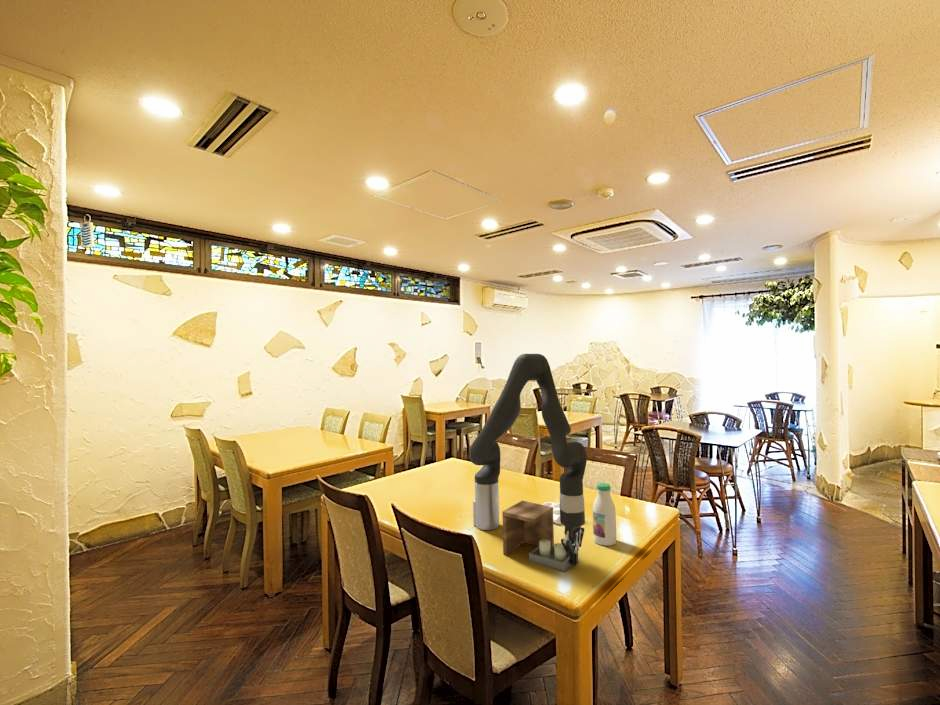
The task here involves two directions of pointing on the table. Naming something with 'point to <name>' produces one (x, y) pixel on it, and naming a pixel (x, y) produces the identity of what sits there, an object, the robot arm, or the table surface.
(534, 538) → the brown wooden cube
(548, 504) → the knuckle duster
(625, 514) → the table surface
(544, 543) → the cream cylinder
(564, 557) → the cream piece
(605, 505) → the milk bottle
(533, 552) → the tray
